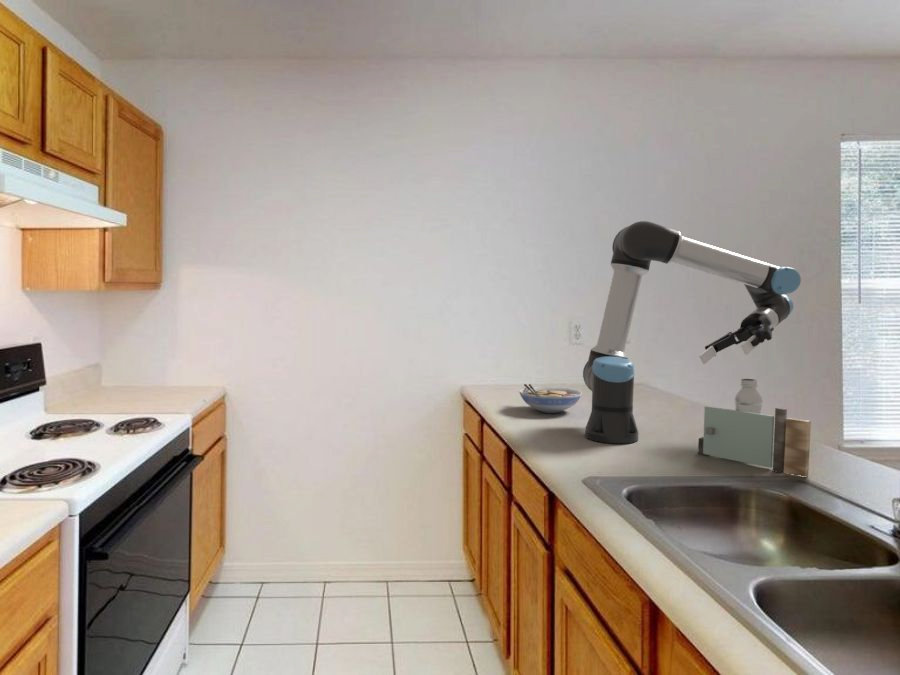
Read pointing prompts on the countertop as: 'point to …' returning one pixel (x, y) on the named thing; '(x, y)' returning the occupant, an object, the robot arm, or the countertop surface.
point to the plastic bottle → (748, 397)
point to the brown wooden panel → (787, 444)
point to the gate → (739, 435)
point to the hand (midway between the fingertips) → (722, 355)
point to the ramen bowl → (550, 398)
